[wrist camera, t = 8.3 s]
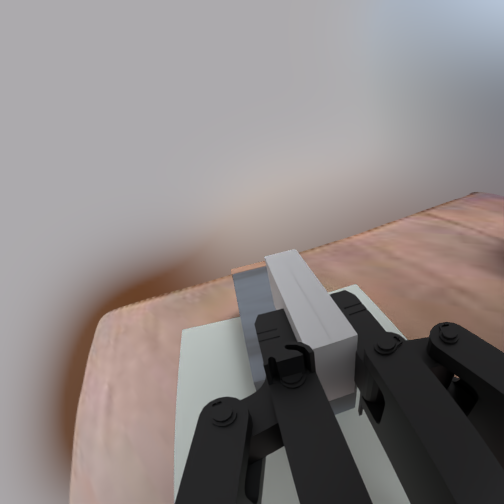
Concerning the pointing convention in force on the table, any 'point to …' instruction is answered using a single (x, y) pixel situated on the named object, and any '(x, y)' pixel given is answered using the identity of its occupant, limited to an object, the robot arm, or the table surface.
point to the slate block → (258, 302)
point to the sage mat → (241, 386)
